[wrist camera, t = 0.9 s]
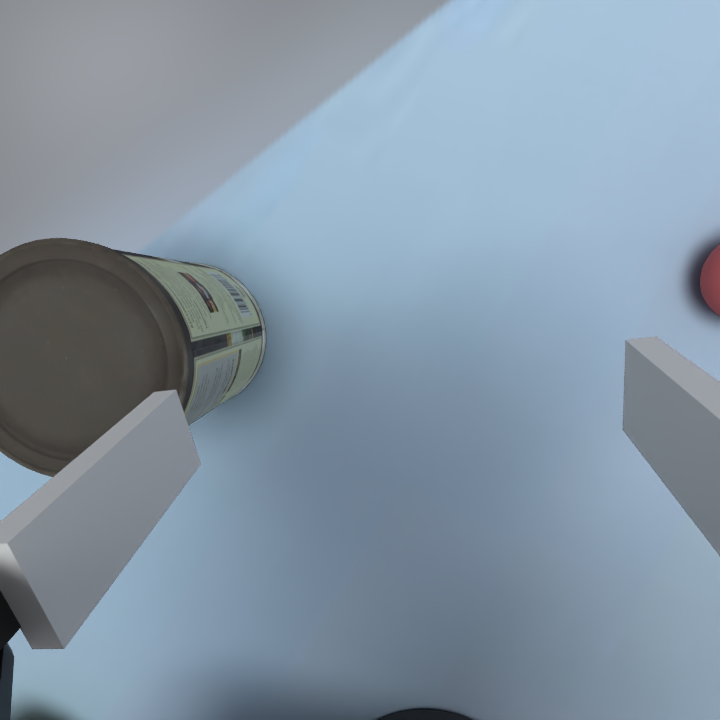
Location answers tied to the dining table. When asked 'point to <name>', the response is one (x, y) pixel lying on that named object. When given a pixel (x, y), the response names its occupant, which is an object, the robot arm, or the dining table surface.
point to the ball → (711, 280)
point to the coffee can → (112, 343)
